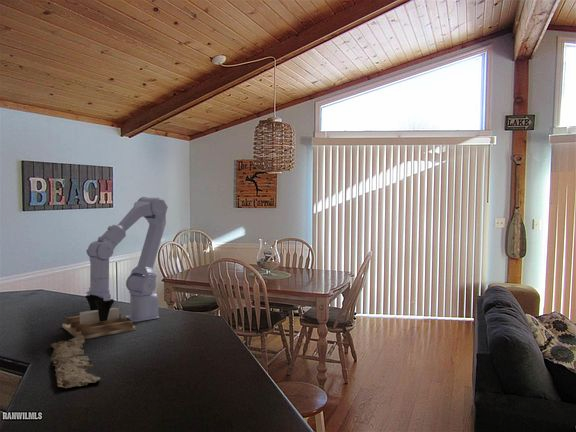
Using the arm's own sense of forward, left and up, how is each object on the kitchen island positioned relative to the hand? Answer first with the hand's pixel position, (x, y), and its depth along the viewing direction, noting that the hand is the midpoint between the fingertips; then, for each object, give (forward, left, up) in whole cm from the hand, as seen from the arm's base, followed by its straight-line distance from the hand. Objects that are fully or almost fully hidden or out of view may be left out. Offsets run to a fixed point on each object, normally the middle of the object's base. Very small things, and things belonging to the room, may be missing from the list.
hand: (99, 318), depth 152 cm
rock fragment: (+17, +28, -4) cm, 33 cm away
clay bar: (0, 0, -2) cm, 2 cm away
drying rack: (0, 0, -3) cm, 3 cm away
